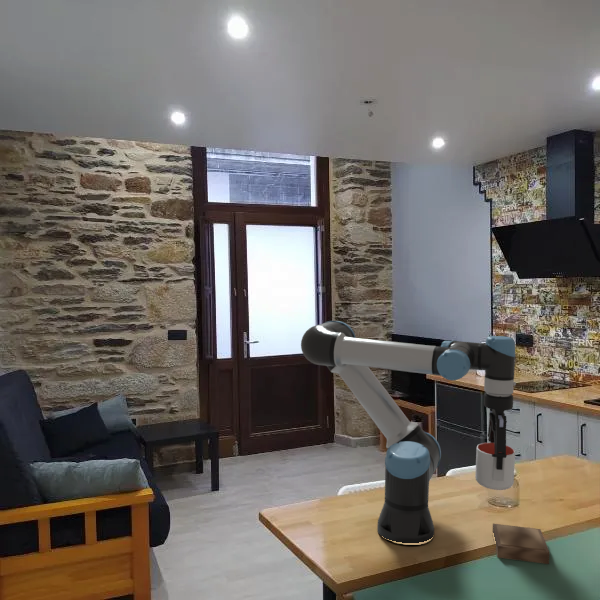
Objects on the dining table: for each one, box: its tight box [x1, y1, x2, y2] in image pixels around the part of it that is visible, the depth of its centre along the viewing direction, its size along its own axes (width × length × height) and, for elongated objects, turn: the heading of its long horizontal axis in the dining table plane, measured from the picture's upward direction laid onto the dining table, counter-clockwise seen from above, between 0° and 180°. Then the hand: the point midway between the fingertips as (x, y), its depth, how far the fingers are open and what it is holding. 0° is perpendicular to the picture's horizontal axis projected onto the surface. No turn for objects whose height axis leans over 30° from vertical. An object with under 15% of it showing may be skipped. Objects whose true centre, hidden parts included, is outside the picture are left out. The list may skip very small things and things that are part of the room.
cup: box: [475, 442, 516, 491], centre depth 153 cm, size 10×10×10 cm
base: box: [492, 523, 551, 565], centre depth 144 cm, size 12×12×3 cm
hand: (495, 472), depth 153 cm, fingers closed on cup, 10 cm apart
